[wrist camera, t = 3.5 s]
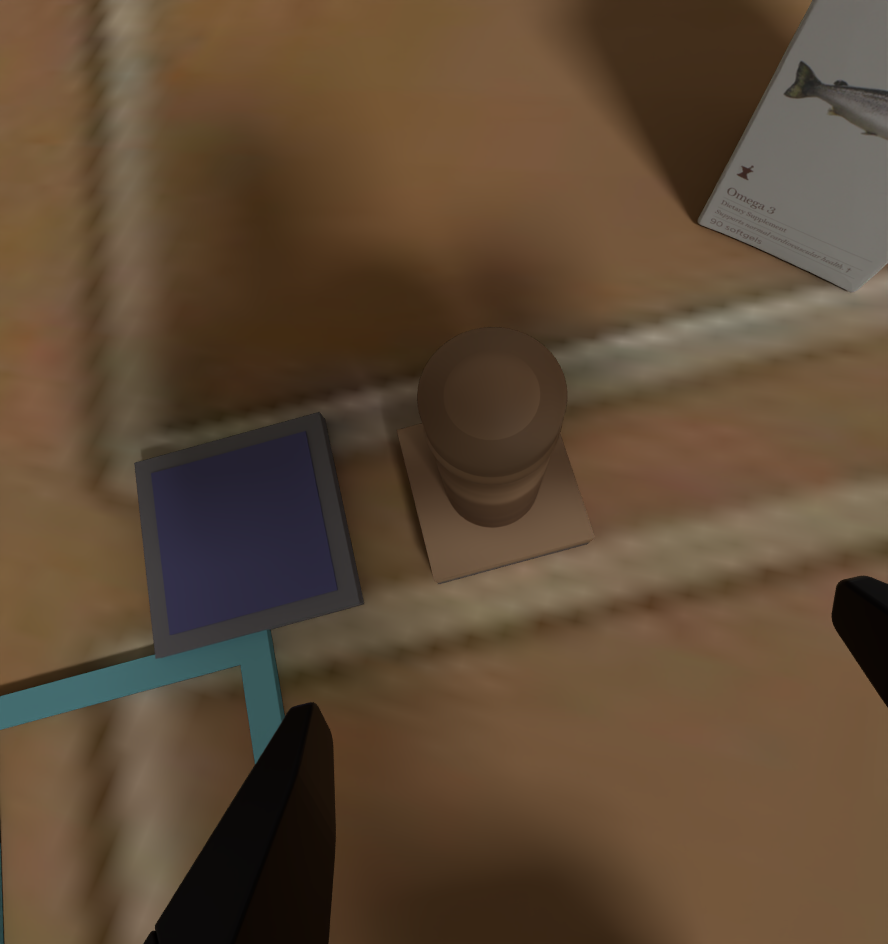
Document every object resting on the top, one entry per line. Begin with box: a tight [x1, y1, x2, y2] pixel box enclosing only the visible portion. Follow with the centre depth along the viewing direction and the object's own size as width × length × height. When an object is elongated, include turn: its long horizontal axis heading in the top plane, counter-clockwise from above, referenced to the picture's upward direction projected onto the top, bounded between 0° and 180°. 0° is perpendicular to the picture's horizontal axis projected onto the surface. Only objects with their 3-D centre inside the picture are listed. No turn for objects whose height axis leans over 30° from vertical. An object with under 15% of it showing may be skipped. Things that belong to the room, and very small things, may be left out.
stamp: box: [397, 327, 595, 584], centre depth 18 cm, size 6×6×10 cm
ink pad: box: [134, 412, 364, 659], centre depth 23 cm, size 8×8×1 cm
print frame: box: [0, 630, 285, 944], centre depth 20 cm, size 12×12×1 cm
